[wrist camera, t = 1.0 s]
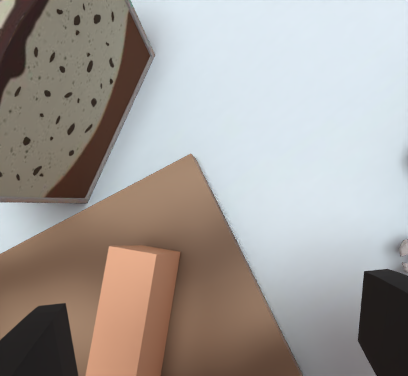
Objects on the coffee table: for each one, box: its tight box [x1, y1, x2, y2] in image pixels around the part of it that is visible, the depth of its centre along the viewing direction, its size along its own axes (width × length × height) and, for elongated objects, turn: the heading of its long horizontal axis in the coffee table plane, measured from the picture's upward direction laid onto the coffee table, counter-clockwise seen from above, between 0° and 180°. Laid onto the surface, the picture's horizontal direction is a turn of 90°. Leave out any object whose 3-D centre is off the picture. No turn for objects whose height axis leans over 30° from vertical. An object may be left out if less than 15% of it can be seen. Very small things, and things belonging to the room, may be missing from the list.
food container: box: [0, 0, 155, 203], centre depth 18 cm, size 12×6×10 cm, turn 156°
